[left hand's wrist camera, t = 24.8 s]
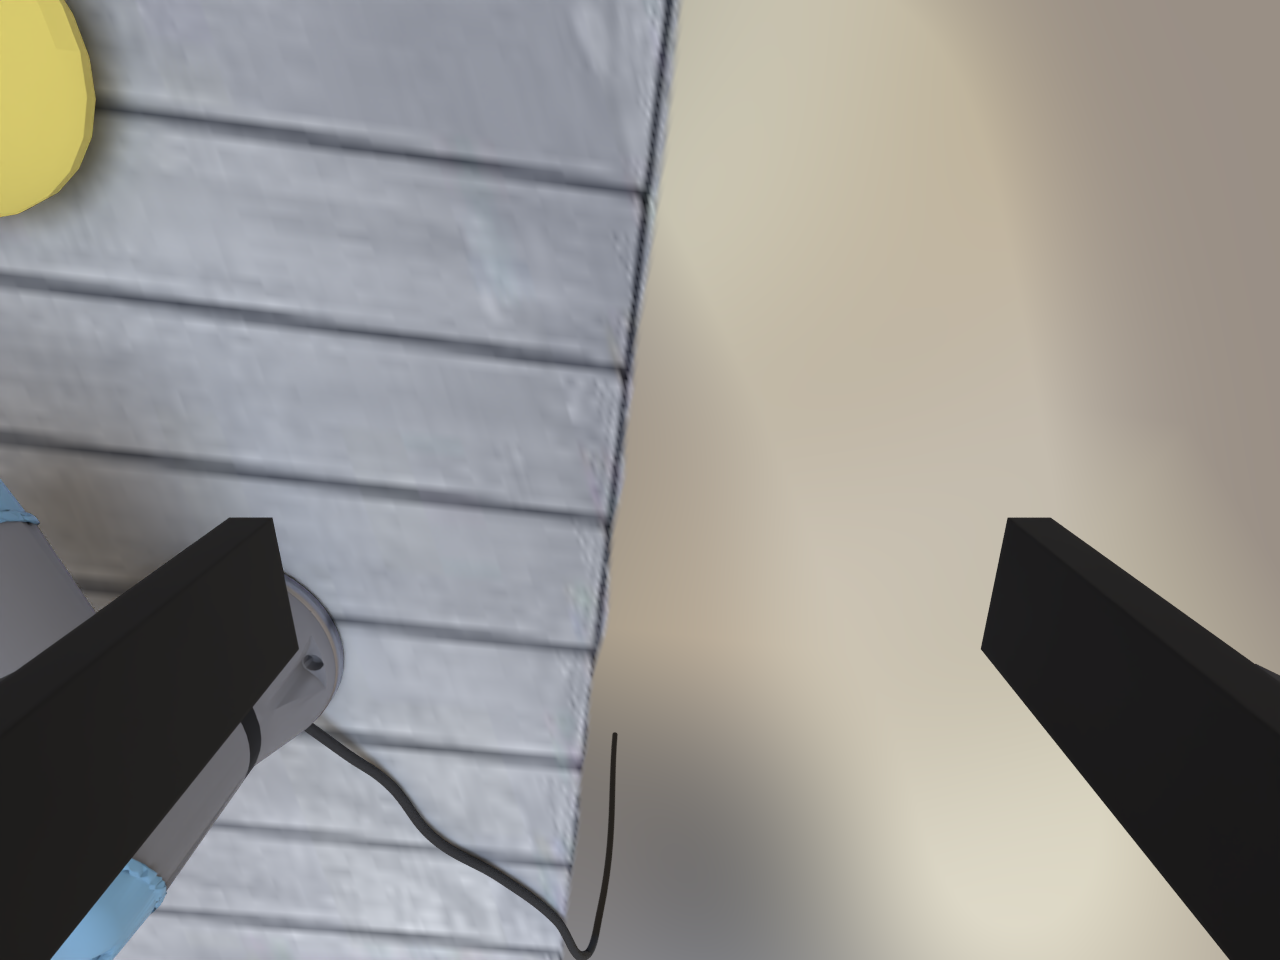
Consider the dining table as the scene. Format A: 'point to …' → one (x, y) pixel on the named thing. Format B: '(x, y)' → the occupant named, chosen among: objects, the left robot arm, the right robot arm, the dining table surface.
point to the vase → (41, 101)
